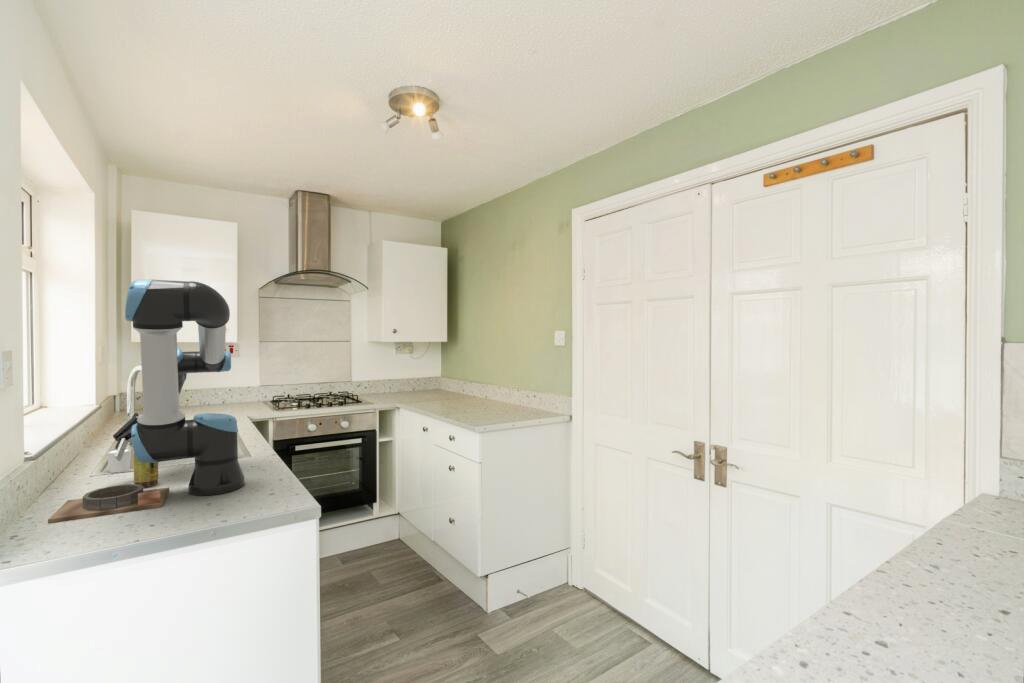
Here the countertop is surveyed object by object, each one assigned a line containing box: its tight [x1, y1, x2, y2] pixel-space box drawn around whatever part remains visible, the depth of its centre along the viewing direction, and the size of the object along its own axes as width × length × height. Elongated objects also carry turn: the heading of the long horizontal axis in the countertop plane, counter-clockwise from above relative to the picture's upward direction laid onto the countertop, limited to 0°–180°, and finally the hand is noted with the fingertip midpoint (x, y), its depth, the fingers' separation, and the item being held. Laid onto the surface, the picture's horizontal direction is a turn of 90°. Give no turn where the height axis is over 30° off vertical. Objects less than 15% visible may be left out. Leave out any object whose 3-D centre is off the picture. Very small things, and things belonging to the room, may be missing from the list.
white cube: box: [106, 448, 132, 474], centre depth 173 cm, size 7×7×7 cm
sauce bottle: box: [133, 453, 159, 488], centre depth 157 cm, size 6×6×20 cm
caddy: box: [47, 483, 170, 524], centre depth 139 cm, size 24×16×4 cm, turn 119°
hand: (142, 457), depth 154 cm, fingers open, 13 cm apart
